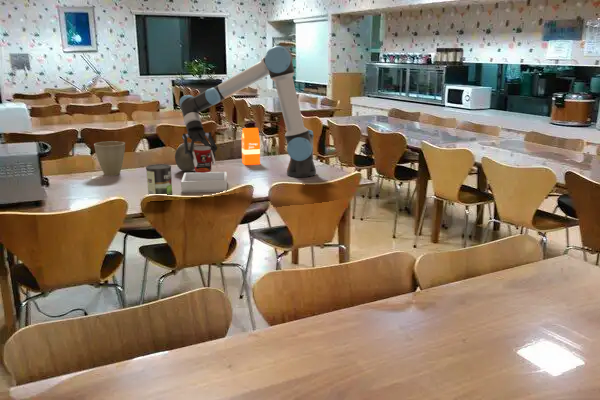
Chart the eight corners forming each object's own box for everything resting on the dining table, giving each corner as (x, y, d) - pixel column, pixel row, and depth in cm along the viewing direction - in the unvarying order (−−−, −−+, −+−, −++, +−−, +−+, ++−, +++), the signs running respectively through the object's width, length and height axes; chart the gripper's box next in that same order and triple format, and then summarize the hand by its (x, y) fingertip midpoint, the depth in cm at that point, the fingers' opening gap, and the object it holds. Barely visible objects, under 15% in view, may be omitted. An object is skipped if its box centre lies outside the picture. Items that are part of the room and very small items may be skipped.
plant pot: (115, 178, 264) (112, 146, 260) (90, 176, 269) (87, 145, 264) (133, 172, 277) (131, 142, 273) (109, 170, 282) (106, 140, 278)
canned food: (195, 173, 242) (194, 149, 239) (194, 169, 250) (193, 146, 247) (212, 172, 244) (211, 148, 241) (210, 168, 252) (209, 145, 249)
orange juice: (242, 162, 304) (241, 127, 298) (257, 161, 306) (256, 126, 301) (244, 165, 296) (244, 129, 291) (260, 164, 299) (259, 128, 293)
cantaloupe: (170, 173, 275) (168, 144, 271) (182, 168, 288) (181, 140, 284) (195, 175, 272) (194, 146, 268) (207, 169, 285) (205, 141, 281)
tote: (227, 181, 259) (226, 171, 257) (226, 191, 241) (226, 180, 240) (185, 182, 256) (184, 172, 255) (181, 192, 239) (180, 181, 238)
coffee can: (176, 196, 233) (175, 164, 230) (166, 202, 224) (164, 169, 220) (155, 194, 235) (152, 163, 232) (143, 201, 226) (141, 168, 222)
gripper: (213, 128, 260) (224, 167, 250) (170, 130, 251) (181, 170, 241) (216, 118, 254) (228, 157, 244) (173, 120, 245) (184, 161, 235)
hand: (205, 164), depth 243 cm, fingers closed on canned food, 8 cm apart
